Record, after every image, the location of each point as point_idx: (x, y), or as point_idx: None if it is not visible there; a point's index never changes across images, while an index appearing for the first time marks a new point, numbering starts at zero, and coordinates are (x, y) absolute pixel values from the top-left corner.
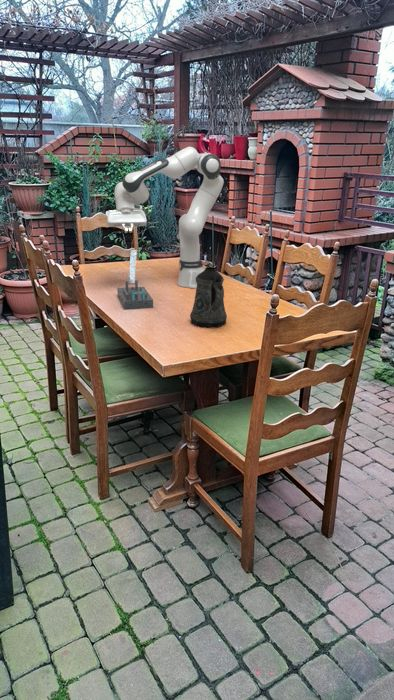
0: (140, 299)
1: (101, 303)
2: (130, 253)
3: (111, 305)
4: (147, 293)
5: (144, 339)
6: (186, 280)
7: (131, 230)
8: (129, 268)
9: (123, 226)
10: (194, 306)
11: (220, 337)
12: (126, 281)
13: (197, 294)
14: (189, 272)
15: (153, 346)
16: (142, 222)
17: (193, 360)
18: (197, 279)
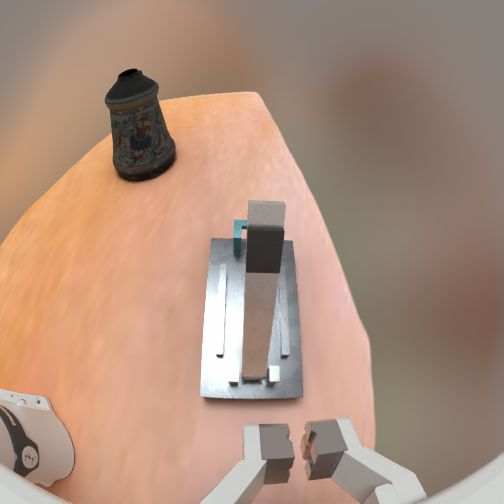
0: (245, 249)
1: (347, 316)
2: (282, 226)
3: (321, 293)
4: (208, 305)
5: (268, 128)
6: (45, 419)
7: (254, 425)
8: (273, 316)
9: (390, 464)
10: (166, 132)
11: (166, 121)
12: (275, 366)
13: (160, 110)
14: (22, 410)
15: (260, 115)
16: (18, 475)
17: (226, 93)
18: (157, 85)
